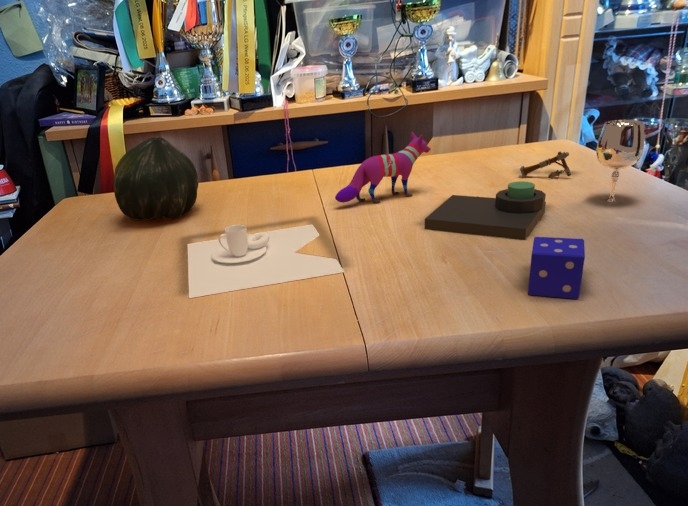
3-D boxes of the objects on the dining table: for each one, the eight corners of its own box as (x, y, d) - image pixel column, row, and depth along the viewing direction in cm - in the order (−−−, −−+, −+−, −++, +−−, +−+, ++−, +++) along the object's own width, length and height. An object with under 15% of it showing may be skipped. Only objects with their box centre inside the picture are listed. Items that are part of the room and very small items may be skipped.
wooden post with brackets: (575, 174, 95) (566, 150, 94) (528, 191, 100) (519, 167, 99) (577, 171, 97) (568, 147, 96) (530, 188, 102) (521, 165, 101)
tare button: (536, 193, 82) (537, 182, 81) (530, 201, 79) (531, 189, 78) (510, 192, 84) (511, 180, 83) (504, 199, 81) (504, 187, 80)
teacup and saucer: (268, 240, 85) (264, 214, 83) (276, 259, 78) (272, 231, 76) (210, 249, 84) (206, 223, 82) (213, 269, 77) (208, 242, 75)
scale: (546, 212, 83) (549, 189, 82) (527, 240, 75) (529, 215, 73) (452, 204, 91) (453, 183, 89) (424, 229, 82) (424, 206, 81)
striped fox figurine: (435, 192, 98) (436, 132, 93) (340, 212, 93) (336, 149, 89) (424, 187, 101) (425, 129, 96) (332, 206, 97) (327, 145, 92)
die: (578, 280, 63) (584, 238, 61) (578, 299, 59) (585, 256, 57) (530, 276, 65) (534, 236, 63) (527, 295, 61) (531, 253, 59)
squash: (112, 181, 106) (100, 128, 93) (190, 171, 110) (190, 118, 97) (125, 246, 101) (114, 199, 88) (206, 232, 105) (208, 185, 92)
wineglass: (589, 212, 81) (602, 127, 76) (587, 200, 86) (598, 119, 81) (635, 213, 79) (651, 126, 74) (630, 200, 84) (644, 118, 79)
